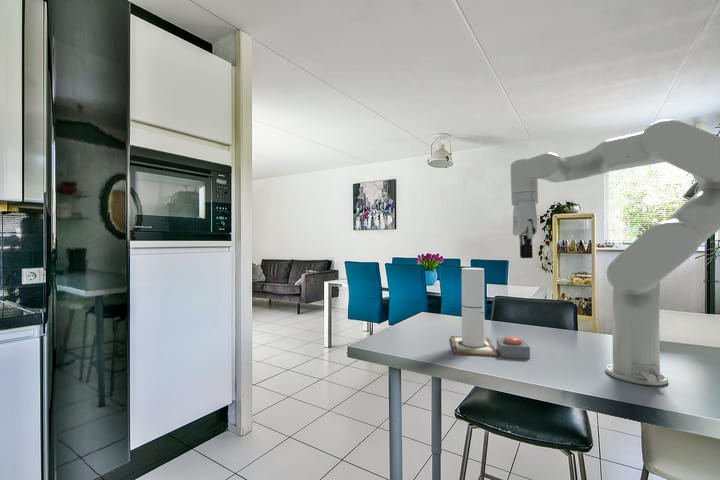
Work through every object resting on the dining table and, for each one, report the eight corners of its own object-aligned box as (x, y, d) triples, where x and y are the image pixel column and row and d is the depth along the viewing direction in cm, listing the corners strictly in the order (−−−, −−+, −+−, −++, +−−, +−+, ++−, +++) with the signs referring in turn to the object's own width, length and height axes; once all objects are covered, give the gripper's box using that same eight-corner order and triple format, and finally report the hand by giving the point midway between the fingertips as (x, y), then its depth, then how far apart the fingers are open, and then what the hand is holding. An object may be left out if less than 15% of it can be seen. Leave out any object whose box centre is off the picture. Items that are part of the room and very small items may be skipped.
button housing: (529, 358, 103) (529, 347, 103) (501, 357, 105) (501, 345, 105) (523, 350, 111) (523, 339, 111) (496, 348, 113) (496, 338, 113)
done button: (523, 353, 105) (523, 341, 105) (505, 352, 106) (505, 340, 106) (519, 348, 110) (519, 336, 110) (502, 347, 111) (502, 335, 111)
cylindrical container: (457, 342, 117) (457, 268, 117) (474, 339, 120) (474, 267, 120) (471, 348, 110) (470, 269, 111) (489, 345, 113) (488, 269, 113)
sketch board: (497, 356, 105) (497, 353, 105) (453, 353, 108) (453, 350, 108) (488, 340, 123) (488, 337, 123) (450, 338, 125) (450, 335, 125)
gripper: (506, 202, 117) (507, 257, 116) (518, 196, 102) (520, 259, 101) (530, 202, 115) (531, 257, 115) (545, 195, 100) (547, 258, 100)
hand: (526, 257), depth 108 cm, fingers closed
